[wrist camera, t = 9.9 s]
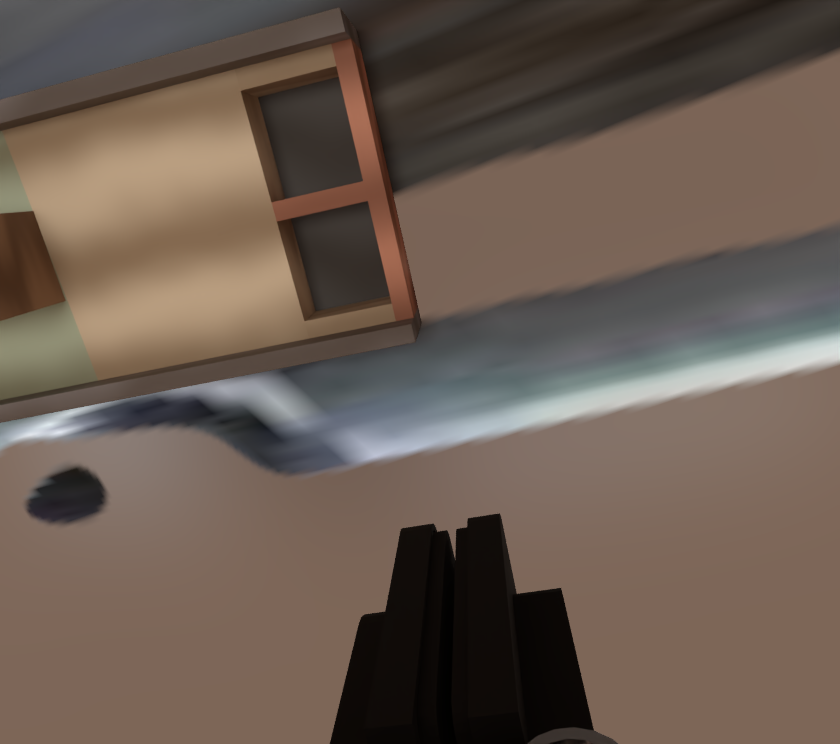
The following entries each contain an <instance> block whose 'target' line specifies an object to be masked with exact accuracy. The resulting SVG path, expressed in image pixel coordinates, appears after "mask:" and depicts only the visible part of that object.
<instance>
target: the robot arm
mask: <svg viewBox="0 0 840 744" xmlns="http://www.w3.org/2000/svg"><path fill="white" fill-rule="evenodd" d="M467 523H468V526H467V528H460V529H457V530H456V558H454V554H453V549H452V545H451V541H450V537H449V534H448V531H447V530H446V531H440V532H437V530H436V527H435V525H434V524H428V525H421V526H415V527H408V528H402V529H401V532H400V536H399V542H398V548H397V553H396V558H395V564H394V569H393V574H392V579H391V585H390V590H389V595H388V600H387V606H386V611H385V612H379V613H372V614H365V615H363V616H362V617H361V620H360V622H359V626H358V630H357V634H356V638H355V642H354V647H353V650H352V655H351V659H350V663H349V667H348V671H347V675H346V679H345V684H344V688H343V692H342V696H341V700H340V704H339V709H338V713H337V717H336V721H335V725H334V729H333V733H332V737H331V741H330V744H618V743H616V742H615V741H614V740H613V739H611V738H609V737H607V736H604V735H602V734H600V733H598V732H596V731H594V729H593V726H592V720H591V716H590V712H589V707H588V704H587V699H586V695H585V690H584V686H583V681H582V677H581V673H580V668H579V664H578V660H577V655H576V651H575V646H574V642H573V637H572V633H571V629H570V625H569V620H568V616H567V611H566V607H565V603H564V598H563V594H562V590H561V588H557V589H550V590H543V591H536V592H528V593H520V594H517V593H516V589H515V583H514V579H513V573H512V569H511V564H510V559H509V554H508V549H507V544H506V539H505V534H504V529H503V524H502V519H501V516H500V514H493V515H487V516H480V517H473V518H468V522H467ZM455 559H456V560H455Z"/></svg>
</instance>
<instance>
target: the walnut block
mask: <svg viewBox="0 0 840 744" xmlns="http://www.w3.org/2000/svg"><path fill="white" fill-rule="evenodd" d="M64 301H66V300H65V297H64V295H63V292H62V289H61V286H60V283H59V281H58V278H57V275H56V272H55V270H54V267H53V264H52V261H51V259H50V256H49V253H48V250H47V247H46V245H45V242H44V239H43V236H42V234H41V231H40V228H39V225H38V222H37V220H36V217H35V214H34V211H26V212H13V213H0V321H2V320H5V319H9V318H12V317H15V316H18V315H21V314H25V313H28V312H31V311H34V310H38V309H41V308H44V307H47V306H51V305H54V304H57V303H60V302H64Z"/></svg>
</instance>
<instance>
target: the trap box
mask: <svg viewBox="0 0 840 744" xmlns="http://www.w3.org/2000/svg"><path fill="white" fill-rule="evenodd" d="M26 211H34V214H35V217H36V220H37V222H38V225H39V228H40V231H41V234H42V236H43V239H44V242H45V245H46V247H47V250H48V253H49V256H50V259H51V261H52V264H53V267H54V270H55V272H56V275H57V278H58V281H59V283H60V286H61V289H62V292H63V295H64V297H65V300H66V301H64V302H60V303H57V304H54V305H51V306H47V307H44V308H41V309H38V310H34V311H31V312H28V313H25V314H21V315H18V316H15V317H12V318H9V319H5V320H2V321H0V423H1V422H6V421H11V420H16V419H22V418H27V417H32V416H37V415H42V414H47V413H53V412H58V411H63V410H68V409H73V408H78V407H84V406H89V405H94V404H99V403H104V402H109V401H114V400H120V399H125V398H130V397H135V396H140V395H145V394H151V393H156V392H161V391H166V390H171V389H176V388H182V387H187V386H192V385H197V384H202V383H207V382H212V381H218V380H223V379H228V378H233V377H238V376H243V375H249V374H254V373H259V372H264V371H269V370H274V369H280V368H285V367H290V366H295V365H300V364H305V363H310V362H316V361H321V360H326V359H331V358H336V357H341V356H347V355H352V354H357V353H362V352H367V351H372V350H378V349H383V348H388V347H393V346H398V345H403V344H408V343H414V342H416V339H417V336H418V332H419V329H420V326H421V318H420V314H419V310H418V305H417V300H416V296H415V291H414V287H413V282H412V278H411V274H410V269H409V264H408V260H407V256H406V251H405V247H404V242H403V237H402V233H401V228H400V224H399V219H398V215H397V210H396V206H395V201H394V197H393V192H392V188H391V183H390V179H389V174H388V170H387V165H386V161H385V156H384V152H383V147H382V143H381V138H380V133H379V129H378V124H377V120H376V115H375V111H374V106H373V102H372V97H371V93H370V88H369V84H368V79H367V75H366V70H365V66H364V61H363V57H362V52H361V48H360V43H359V39H358V34H357V30H356V29H355V27H354V26H353V25H352V23H351V22H350V21H349V19H348V18H347V17H346V15H345V14H344V13H343V11H342V10H341V9H340V7H339V8H336V9H332V10H328V11H325V12H321V13H317V14H314V15H310V16H306V17H303V18H299V19H295V20H292V21H288V22H284V23H281V24H277V25H273V26H270V27H266V28H262V29H258V30H255V31H251V32H247V33H244V34H240V35H236V36H233V37H229V38H225V39H222V40H218V41H214V42H211V43H207V44H203V45H200V46H196V47H192V48H189V49H185V50H181V51H178V52H174V53H170V54H167V55H163V56H159V57H156V58H152V59H148V60H145V61H141V62H137V63H134V64H130V65H126V66H122V67H119V68H115V69H111V70H108V71H104V72H100V73H97V74H93V75H89V76H86V77H82V78H78V79H75V80H71V81H67V82H64V83H60V84H56V85H53V86H49V87H45V88H42V89H38V90H34V91H31V92H27V93H23V94H20V95H16V96H12V97H9V98H5V99H1V100H0V213H13V212H26Z"/></svg>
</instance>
